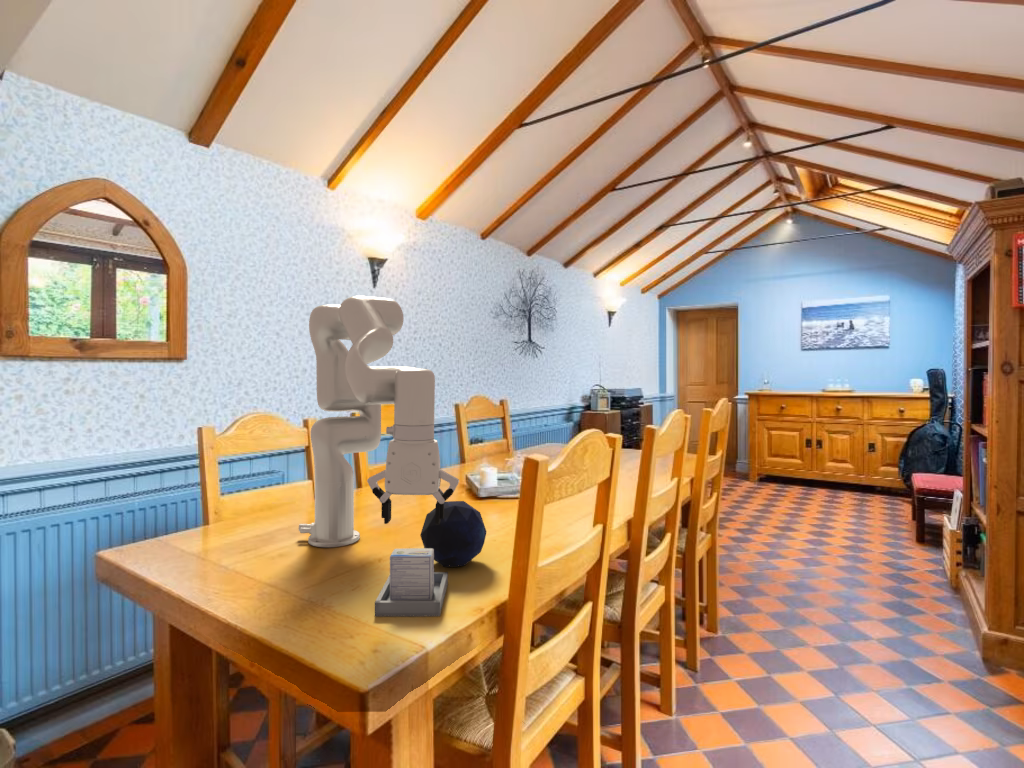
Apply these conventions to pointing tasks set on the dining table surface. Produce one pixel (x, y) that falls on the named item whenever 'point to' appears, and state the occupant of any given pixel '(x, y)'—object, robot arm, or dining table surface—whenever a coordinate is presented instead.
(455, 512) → the decorative orb
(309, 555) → the dining table surface
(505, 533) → the dining table surface
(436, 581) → the tray
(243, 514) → the dining table surface
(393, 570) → the medicine box
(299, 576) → the dining table surface
